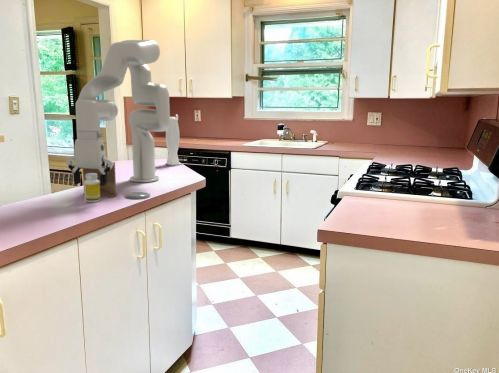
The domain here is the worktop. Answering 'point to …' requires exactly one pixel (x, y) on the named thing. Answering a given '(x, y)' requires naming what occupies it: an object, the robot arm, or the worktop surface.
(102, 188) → the screen
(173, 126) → the skyscraper
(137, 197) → the coaster
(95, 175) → the supplement bottle
